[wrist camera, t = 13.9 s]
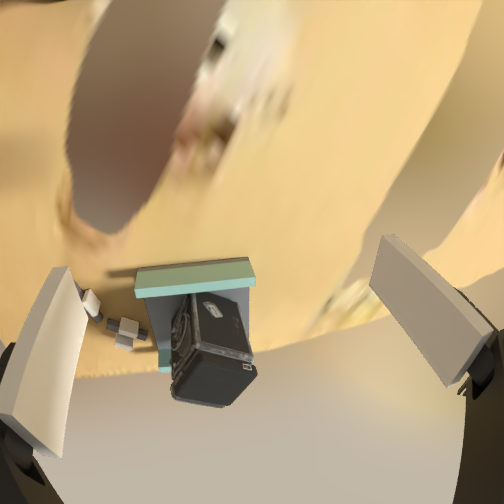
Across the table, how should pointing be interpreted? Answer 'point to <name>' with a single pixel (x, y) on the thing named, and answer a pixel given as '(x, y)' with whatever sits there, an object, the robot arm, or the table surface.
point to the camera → (209, 351)
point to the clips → (127, 326)
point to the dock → (190, 281)
